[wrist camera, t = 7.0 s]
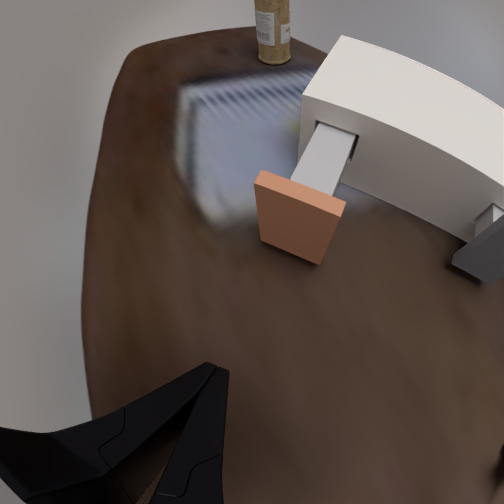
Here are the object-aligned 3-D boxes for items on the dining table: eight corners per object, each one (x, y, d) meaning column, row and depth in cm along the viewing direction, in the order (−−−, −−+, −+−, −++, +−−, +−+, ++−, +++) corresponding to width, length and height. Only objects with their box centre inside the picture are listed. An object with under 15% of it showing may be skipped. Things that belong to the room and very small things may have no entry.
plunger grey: (490, 284, 20) (546, 253, 13) (451, 264, 22) (505, 224, 14) (495, 174, 24) (529, 132, 17) (462, 154, 26) (493, 106, 18)
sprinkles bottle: (296, 61, 34) (297, -23, 22) (266, 68, 34) (260, -20, 21) (281, 48, 36) (279, -30, 23) (252, 54, 36) (244, -27, 23)
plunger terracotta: (319, 265, 22) (340, 216, 15) (260, 240, 24) (254, 183, 16) (366, 141, 27) (386, 80, 19) (320, 124, 28) (328, 60, 20)
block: (489, 255, 23) (543, 216, 14) (297, 165, 28) (302, 94, 19) (491, 171, 26) (527, 126, 18) (332, 96, 31) (341, 35, 23)
